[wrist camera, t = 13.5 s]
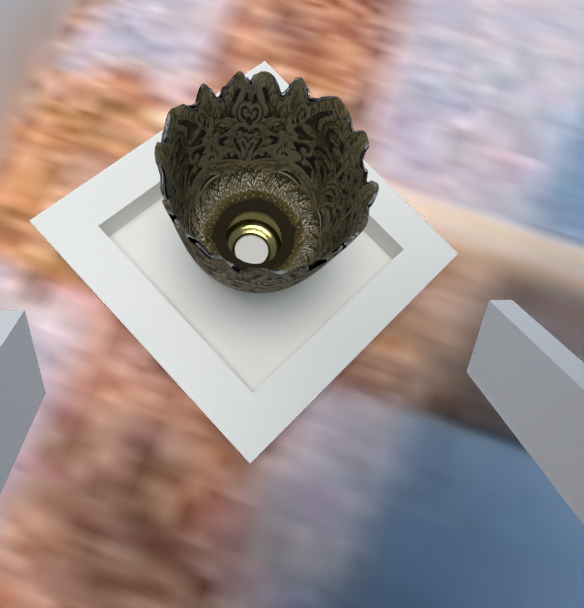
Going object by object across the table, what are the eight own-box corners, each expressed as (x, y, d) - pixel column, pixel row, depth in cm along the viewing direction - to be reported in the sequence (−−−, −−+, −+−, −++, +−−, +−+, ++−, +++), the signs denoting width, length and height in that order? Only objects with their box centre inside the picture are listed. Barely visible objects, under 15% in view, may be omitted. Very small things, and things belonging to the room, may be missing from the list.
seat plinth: (258, 105, 27) (264, 61, 24) (427, 275, 26) (457, 253, 23) (55, 250, 23) (29, 220, 20) (244, 458, 22) (250, 463, 19)
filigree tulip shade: (169, 184, 23) (148, 64, 15) (313, 180, 24) (359, 68, 17) (179, 331, 21) (161, 278, 14) (334, 317, 23) (395, 262, 15)
